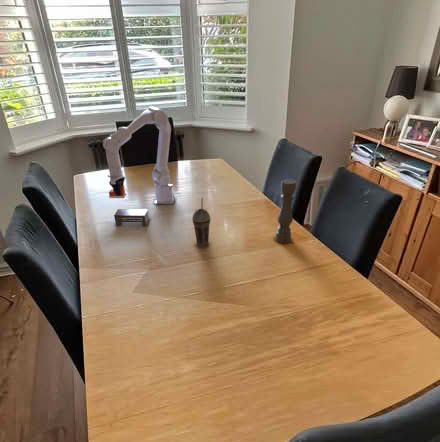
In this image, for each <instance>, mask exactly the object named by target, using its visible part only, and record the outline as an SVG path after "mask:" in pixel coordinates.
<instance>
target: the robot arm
mask: <svg viewBox="0 0 440 442" xmlns="http://www.w3.org/2000/svg"><path fill="white" fill-rule="evenodd" d="M145 125H154V126H156V128H157V129H158V130H159V131H158V133H159V134H158V141H157V142H158V144H157V155H156V164H155V165H154V167H153V171H152V172H151V178H152V180H153V181H154V193H155V201H154V204H155V205H159V204H160V205H169V204H170V205H173V204H174V202H175V190H174V184H171V183H170V182H171V178H170V170H169V167H168V163H169V153H170V152H169V151H170V143H171V134H172V133H171V132H172V126H171V124H170V121H169V116H168V114H167V113H166V111H164V110H163V109H161V108H157V107H155V106H149V107H148V108H146V109H145V110H144V111H142V113H141V114H140V115H138V116H137V117H136V118H135V119H134V120H133V121H132V122H131V123H129V125H127V126H119V127H118V128H117V130H116V131H115V132H113V133H112V134H110V135H109V136H108V137H105V138H104V139H103V142H102V147H103V149H104V150H105V155H106V161H107V166H108V172H109V174H108V175H107V178H110V179H109V182H108V184H109V186H111V188H112V190H114V192H115V194H116V196H121V185H124V183H125V179H126V176H124V172H123V170H122V169H123V168H122V163H121V157H120V154H119V151H120V147H122V146H123V145H124V144H125V143H127V142H128V141H130V139H132V134H134V133H135V132H136V131H138V130H139V129H141V128H142V127H143V126H145ZM124 186H125V185H124Z"/></svg>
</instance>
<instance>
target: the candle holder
mask: <svg viewBox="0 0 440 442" xmlns="http://www.w3.org/2000/svg"><path fill="white" fill-rule="evenodd" d="M296 190H297V180H295V179H293V178H284V179H282V180H281V181H280V191H281V195H280V199H281V208H280V210H279V213H278V215H277V222H278V227H277V228H276V232H275V241H276V242H278V243H280V244H287V243H290V242H291V239H292V238H291V237H292V232H291V231H292V229H291V227H290V226H291V225H292V223H293V220H294V218H293V211H292V209H293V208H292V205H293V204H292V203H293V200H294V199H295V195H294V194H295V192H296Z"/></svg>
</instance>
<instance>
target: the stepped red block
mask: <svg viewBox="0 0 440 442" xmlns="http://www.w3.org/2000/svg"><path fill="white" fill-rule="evenodd" d="M125 189H126V188H125V185H121V196H116V194H115V192H114V190H113V189H109V191H108V198H109V199H124V198H125V197H126V196H127V194H126V190H125Z"/></svg>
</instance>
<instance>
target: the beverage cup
mask: <svg viewBox="0 0 440 442" xmlns="http://www.w3.org/2000/svg"><path fill="white" fill-rule="evenodd" d="M200 199H201V203H200V204H201V207H200V208H199V209H196V210H195V211H194V213H193V214H192V224H193V227H194V234H195V241H196V246H197V247H198V248H200V249H201V248H208V246H209V240H210V239H209V238H210V237H209V236H210V224H211V216H210V212H208V211H207V210H206V209H204V208H203V205H204V198H203V197H201V198H200Z"/></svg>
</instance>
